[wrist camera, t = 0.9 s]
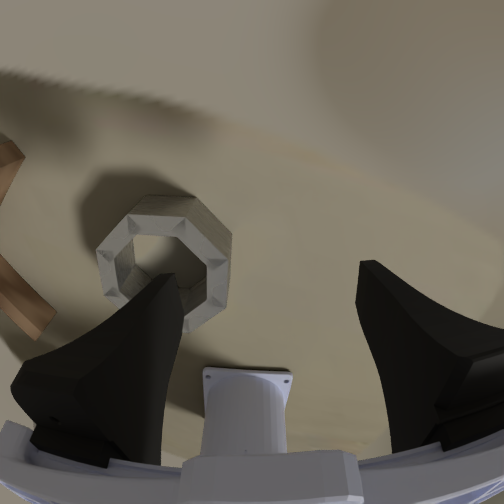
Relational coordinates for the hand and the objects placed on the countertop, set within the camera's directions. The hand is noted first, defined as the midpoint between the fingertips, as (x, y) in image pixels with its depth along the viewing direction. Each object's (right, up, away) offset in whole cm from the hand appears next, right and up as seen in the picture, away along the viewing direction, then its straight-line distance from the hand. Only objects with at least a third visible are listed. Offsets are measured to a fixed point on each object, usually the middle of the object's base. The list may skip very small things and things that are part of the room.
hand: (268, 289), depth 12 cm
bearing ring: (-6, +1, +10) cm, 12 cm away
